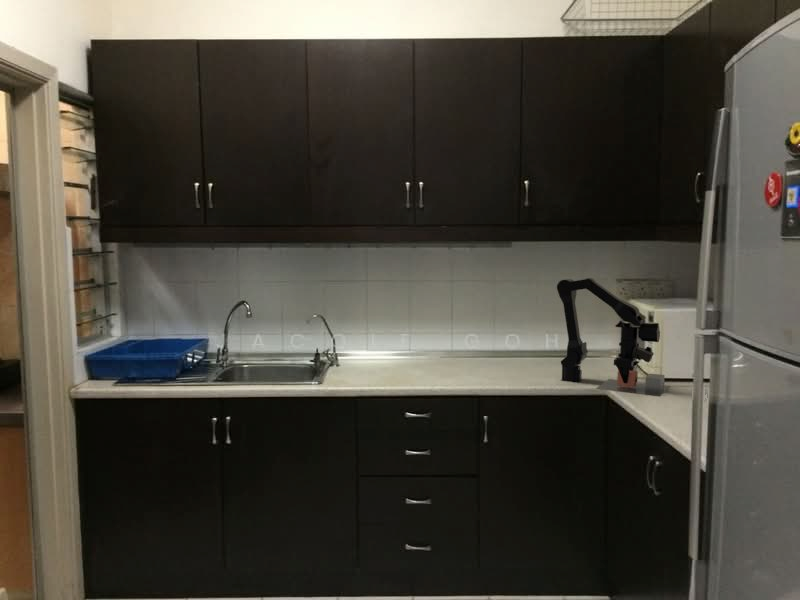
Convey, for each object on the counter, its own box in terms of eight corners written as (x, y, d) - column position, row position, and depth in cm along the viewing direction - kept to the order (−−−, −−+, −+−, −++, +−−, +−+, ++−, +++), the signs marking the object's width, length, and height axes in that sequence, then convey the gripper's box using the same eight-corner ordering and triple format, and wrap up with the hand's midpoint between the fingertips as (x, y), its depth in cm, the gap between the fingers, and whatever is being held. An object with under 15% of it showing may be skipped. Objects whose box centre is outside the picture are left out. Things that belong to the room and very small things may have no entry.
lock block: (617, 385, 234) (617, 371, 234) (620, 382, 239) (621, 369, 238) (634, 387, 231) (634, 373, 231) (637, 384, 236) (637, 371, 235)
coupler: (595, 390, 231) (595, 375, 231) (609, 380, 248) (609, 366, 248) (659, 398, 220) (660, 382, 219) (669, 387, 237) (670, 372, 236)
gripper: (647, 345, 222) (645, 389, 223) (656, 338, 237) (655, 380, 239) (614, 342, 227) (612, 385, 229) (625, 336, 243) (624, 376, 245)
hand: (627, 381), depth 235 cm, fingers closed on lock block, 5 cm apart
